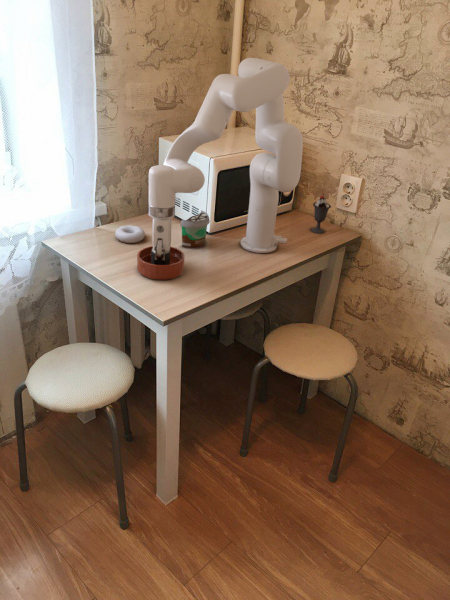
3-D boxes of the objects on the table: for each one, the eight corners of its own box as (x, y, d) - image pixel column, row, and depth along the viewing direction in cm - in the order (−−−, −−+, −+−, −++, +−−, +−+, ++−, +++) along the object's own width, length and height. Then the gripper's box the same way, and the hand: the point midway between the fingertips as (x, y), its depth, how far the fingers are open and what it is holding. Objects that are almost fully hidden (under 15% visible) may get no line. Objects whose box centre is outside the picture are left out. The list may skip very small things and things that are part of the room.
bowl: (184, 261, 163) (185, 246, 160) (183, 282, 151) (183, 267, 148) (140, 258, 162) (140, 244, 159) (135, 279, 150) (134, 264, 147)
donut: (112, 243, 170) (142, 245, 170) (111, 234, 168) (142, 236, 168) (118, 232, 179) (147, 233, 179) (118, 222, 177) (147, 224, 177)
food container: (194, 253, 168) (196, 224, 163) (179, 248, 171) (180, 219, 166) (215, 241, 178) (217, 214, 173) (200, 236, 180) (201, 209, 175)
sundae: (315, 225, 198) (322, 188, 190) (329, 231, 194) (337, 193, 186) (304, 229, 194) (311, 191, 186) (318, 235, 190) (326, 196, 182)
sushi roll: (170, 264, 159) (170, 246, 155) (169, 273, 154) (169, 254, 151) (152, 263, 158) (152, 245, 155) (150, 272, 153) (150, 253, 150)
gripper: (173, 222, 139) (171, 280, 148) (176, 200, 154) (174, 254, 163) (145, 220, 139) (145, 278, 148) (151, 198, 154) (150, 253, 163)
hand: (160, 265), depth 156 cm, fingers open, 6 cm apart
